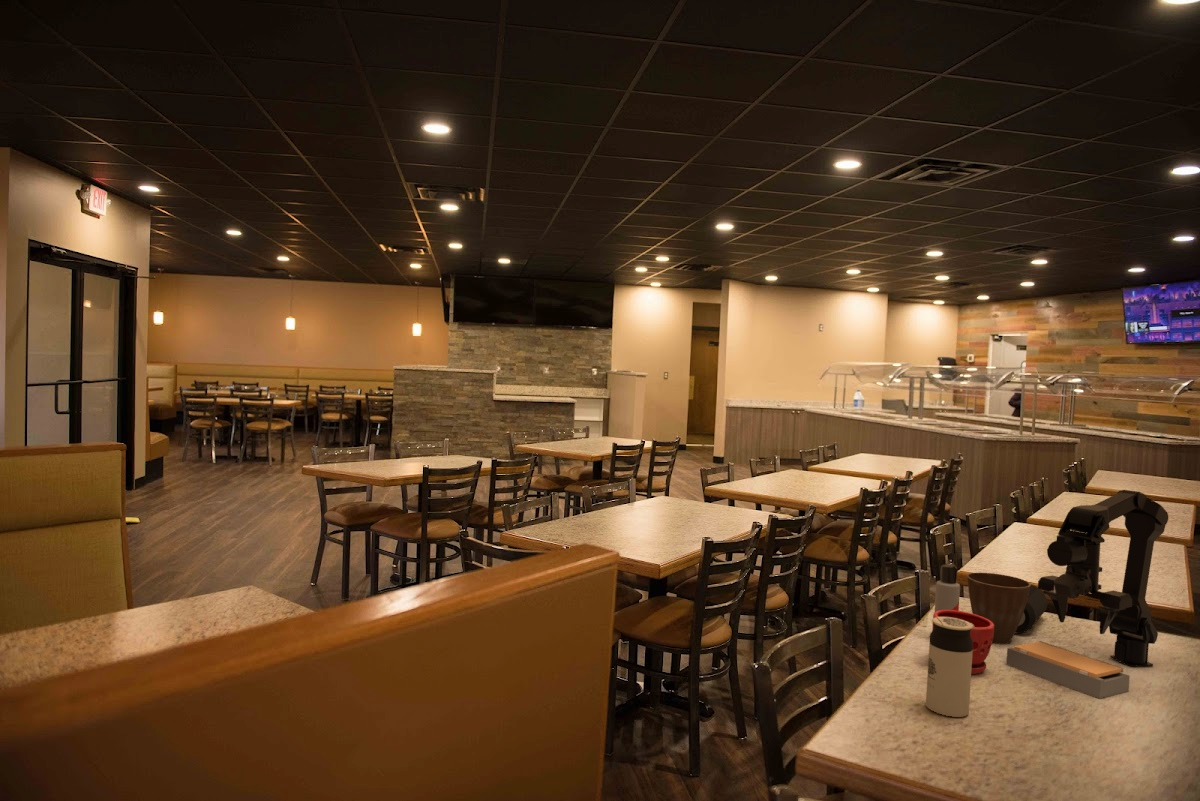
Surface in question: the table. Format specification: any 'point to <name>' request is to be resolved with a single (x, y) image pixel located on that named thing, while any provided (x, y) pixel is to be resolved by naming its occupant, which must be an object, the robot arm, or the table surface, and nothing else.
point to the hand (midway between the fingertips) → (1081, 628)
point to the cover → (1069, 659)
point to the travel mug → (949, 667)
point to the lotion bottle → (947, 589)
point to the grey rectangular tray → (1069, 675)
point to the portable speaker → (1032, 609)
